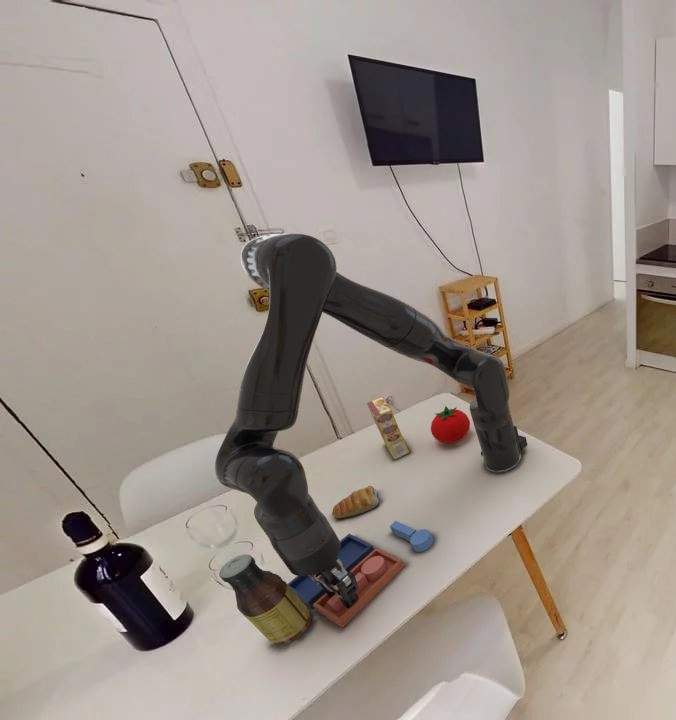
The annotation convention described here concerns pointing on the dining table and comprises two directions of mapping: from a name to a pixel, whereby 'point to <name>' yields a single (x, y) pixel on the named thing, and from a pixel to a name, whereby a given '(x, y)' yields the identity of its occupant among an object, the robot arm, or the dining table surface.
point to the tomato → (450, 425)
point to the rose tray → (365, 594)
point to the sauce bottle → (266, 600)
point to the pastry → (356, 503)
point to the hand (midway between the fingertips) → (343, 597)
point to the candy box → (388, 427)
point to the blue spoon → (413, 536)
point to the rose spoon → (363, 578)
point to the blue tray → (350, 557)
